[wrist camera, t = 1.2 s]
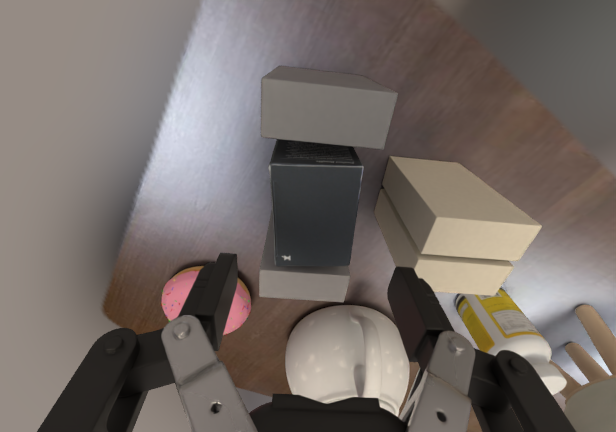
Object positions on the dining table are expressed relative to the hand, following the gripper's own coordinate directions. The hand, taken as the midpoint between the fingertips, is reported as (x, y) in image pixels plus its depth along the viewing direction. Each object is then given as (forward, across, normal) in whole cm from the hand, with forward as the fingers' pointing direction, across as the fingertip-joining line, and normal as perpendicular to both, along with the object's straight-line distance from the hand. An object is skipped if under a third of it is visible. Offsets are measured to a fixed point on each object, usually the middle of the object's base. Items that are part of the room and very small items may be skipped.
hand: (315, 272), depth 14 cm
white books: (+15, -11, +2) cm, 19 cm away
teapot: (+15, -8, +27) cm, 32 cm away
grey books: (+15, 0, 0) cm, 15 cm away
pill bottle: (+15, -25, +17) cm, 34 cm away
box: (+15, 0, 0) cm, 15 cm away
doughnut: (+15, +11, +19) cm, 27 cm away
